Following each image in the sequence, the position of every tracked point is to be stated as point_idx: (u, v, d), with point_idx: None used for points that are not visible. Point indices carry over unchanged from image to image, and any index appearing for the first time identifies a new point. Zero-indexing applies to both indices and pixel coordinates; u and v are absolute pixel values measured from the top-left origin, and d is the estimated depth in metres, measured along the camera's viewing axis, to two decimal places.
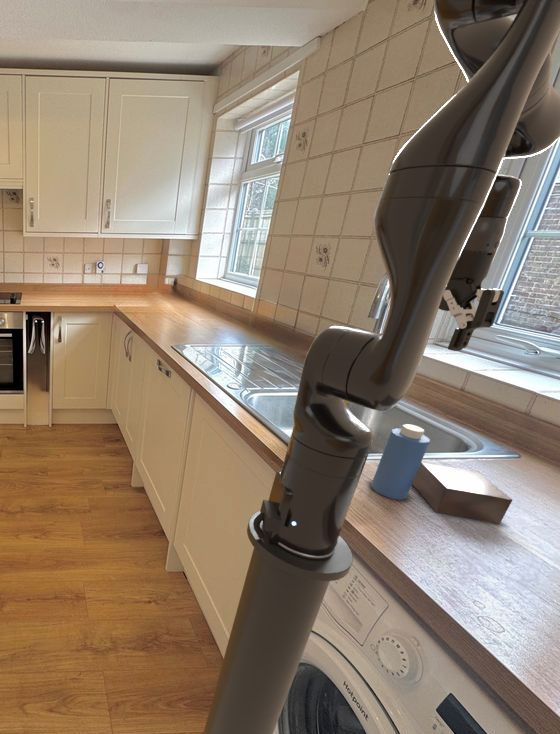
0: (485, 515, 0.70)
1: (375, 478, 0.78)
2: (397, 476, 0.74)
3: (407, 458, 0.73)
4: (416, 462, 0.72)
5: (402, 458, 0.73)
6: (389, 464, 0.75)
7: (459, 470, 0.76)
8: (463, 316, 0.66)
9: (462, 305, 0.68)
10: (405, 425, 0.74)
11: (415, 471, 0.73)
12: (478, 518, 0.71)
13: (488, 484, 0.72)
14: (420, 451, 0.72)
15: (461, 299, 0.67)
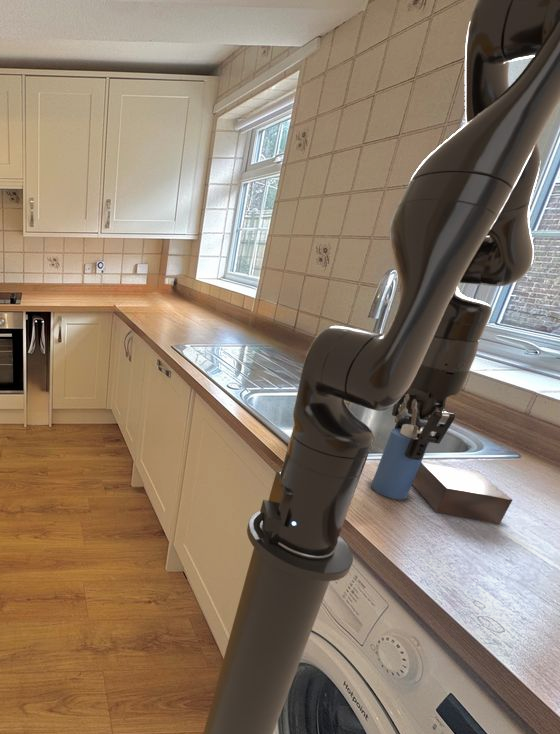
0: (485, 515, 0.70)
1: (375, 478, 0.78)
2: (397, 476, 0.74)
3: (407, 458, 0.73)
4: (417, 461, 0.72)
5: (402, 458, 0.73)
6: (389, 464, 0.75)
7: (459, 470, 0.76)
8: (417, 428, 0.70)
9: (428, 417, 0.69)
10: (405, 425, 0.74)
11: (415, 471, 0.73)
12: (478, 518, 0.71)
13: (488, 484, 0.72)
14: None
15: (424, 411, 0.69)
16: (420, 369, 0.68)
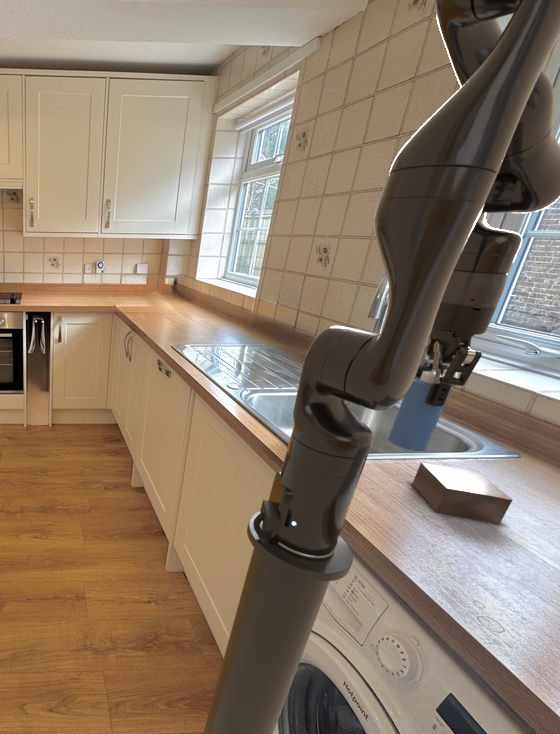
0: (485, 515, 0.70)
1: (393, 430, 0.74)
2: (417, 425, 0.70)
3: (428, 405, 0.69)
4: (438, 409, 0.69)
5: (422, 406, 0.69)
6: (408, 413, 0.71)
7: (459, 470, 0.76)
8: (440, 371, 0.66)
9: (452, 359, 0.66)
10: (425, 371, 0.70)
11: (436, 420, 0.70)
12: (478, 518, 0.71)
13: (488, 484, 0.72)
14: None
15: (447, 352, 0.65)
16: (444, 307, 0.64)
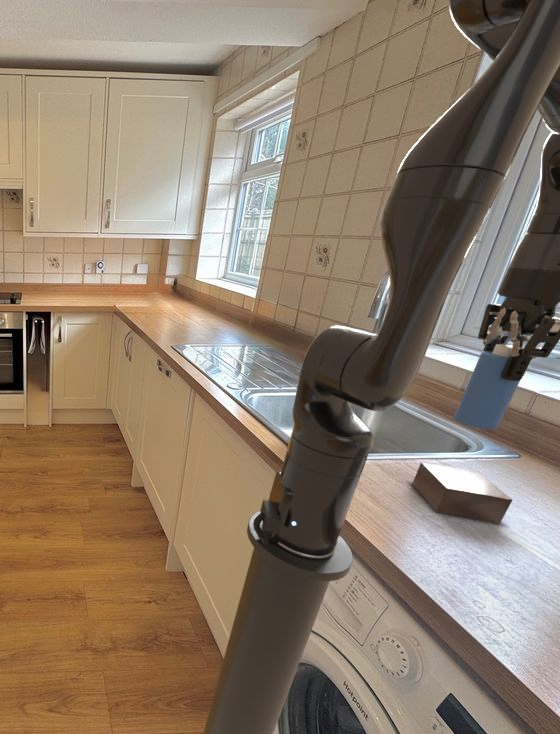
0: (485, 515, 0.70)
1: (460, 408, 0.70)
2: (490, 402, 0.66)
3: (503, 380, 0.65)
4: (514, 384, 0.65)
5: (497, 381, 0.65)
6: (480, 390, 0.67)
7: (459, 470, 0.76)
8: (518, 343, 0.62)
9: (532, 329, 0.61)
10: (499, 344, 0.66)
11: (511, 396, 0.65)
12: (478, 518, 0.71)
13: (488, 484, 0.72)
14: None
15: (527, 322, 0.61)
16: (525, 274, 0.60)
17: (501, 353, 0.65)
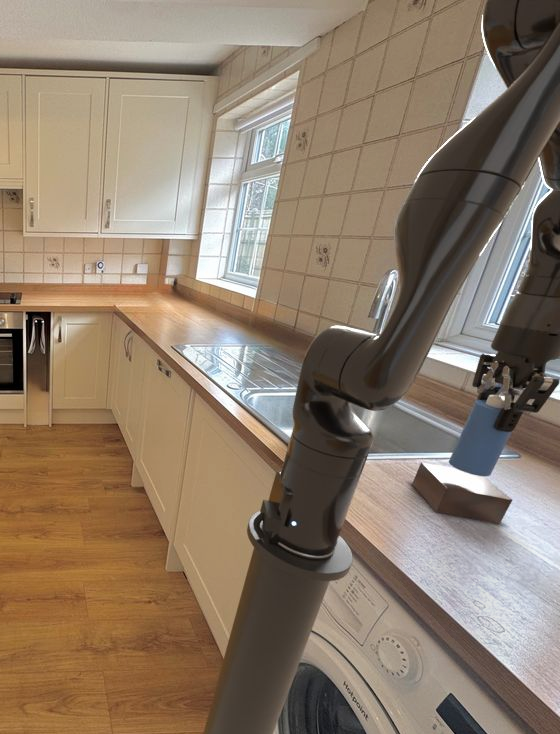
0: (485, 515, 0.70)
1: (455, 454, 0.72)
2: (483, 450, 0.69)
3: (496, 430, 0.67)
4: (506, 434, 0.67)
5: (490, 431, 0.68)
6: (474, 438, 0.69)
7: (459, 470, 0.76)
8: (510, 397, 0.64)
9: (523, 384, 0.64)
10: (492, 395, 0.68)
11: (503, 445, 0.68)
12: (478, 518, 0.71)
13: (488, 484, 0.72)
14: None
15: (519, 378, 0.63)
16: (516, 332, 0.63)
17: (494, 404, 0.67)
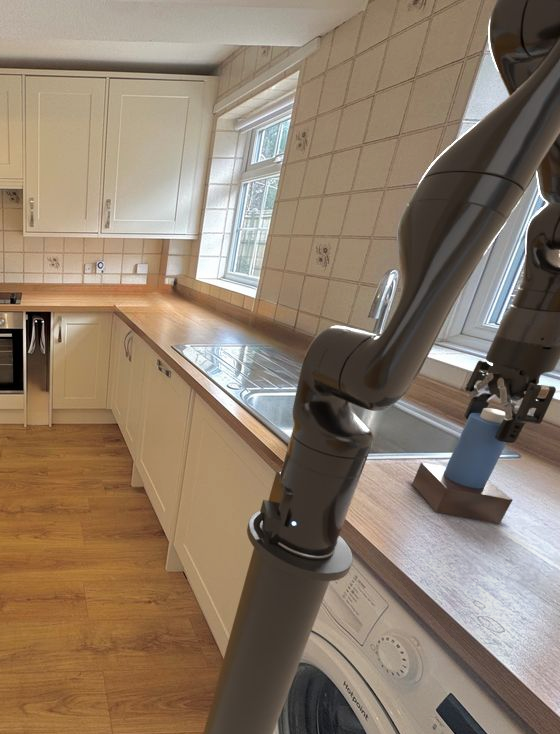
0: (485, 515, 0.70)
1: (449, 466, 0.73)
2: (477, 463, 0.69)
3: (489, 444, 0.68)
4: (500, 447, 0.68)
5: (484, 444, 0.68)
6: (468, 451, 0.70)
7: None
8: (510, 407, 0.64)
9: (518, 396, 0.64)
10: (486, 409, 0.69)
11: (497, 458, 0.69)
12: (478, 518, 0.71)
13: (488, 484, 0.72)
14: None
15: (513, 390, 0.64)
16: (510, 345, 0.63)
17: (488, 418, 0.68)
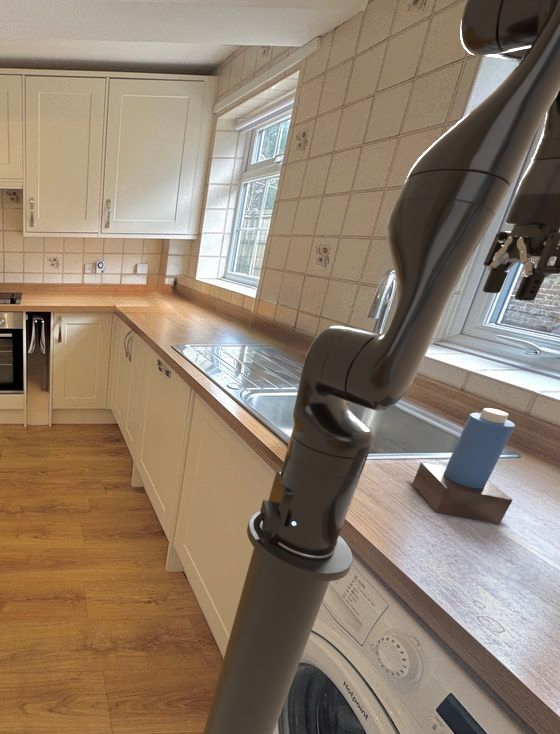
0: (485, 515, 0.70)
1: (449, 466, 0.73)
2: (477, 463, 0.69)
3: (489, 444, 0.68)
4: (500, 447, 0.68)
5: (484, 444, 0.68)
6: (468, 451, 0.70)
7: None
8: (530, 262, 0.65)
9: (537, 253, 0.65)
10: (486, 409, 0.69)
11: (497, 458, 0.69)
12: (478, 518, 0.71)
13: (488, 484, 0.72)
14: (505, 436, 0.67)
15: (533, 246, 0.65)
16: (530, 199, 0.64)
17: (488, 418, 0.68)
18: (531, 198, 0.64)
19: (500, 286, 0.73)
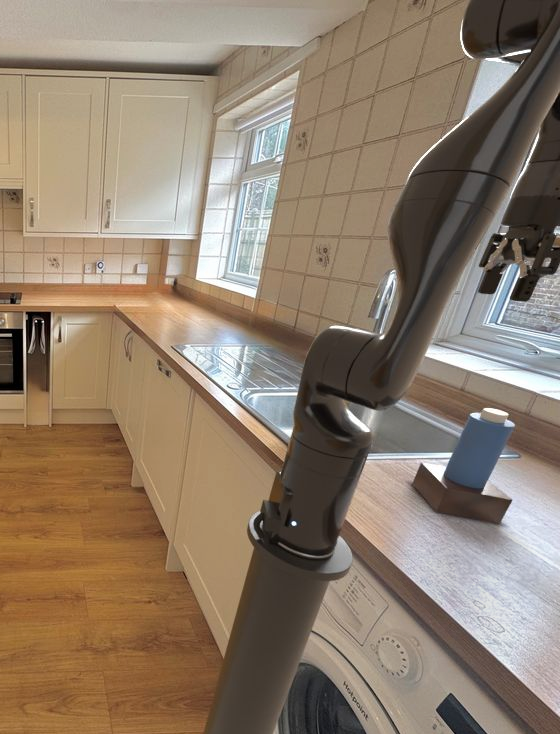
0: (485, 515, 0.70)
1: (449, 466, 0.73)
2: (477, 463, 0.69)
3: (489, 444, 0.68)
4: (500, 447, 0.68)
5: (484, 444, 0.68)
6: (468, 451, 0.70)
7: None
8: (525, 264, 0.65)
9: (532, 254, 0.66)
10: (486, 409, 0.69)
11: (497, 458, 0.69)
12: (478, 518, 0.71)
13: (488, 484, 0.72)
14: (505, 436, 0.67)
15: (528, 247, 0.66)
16: (525, 201, 0.65)
17: (488, 418, 0.68)
18: (526, 200, 0.65)
19: (495, 287, 0.74)
